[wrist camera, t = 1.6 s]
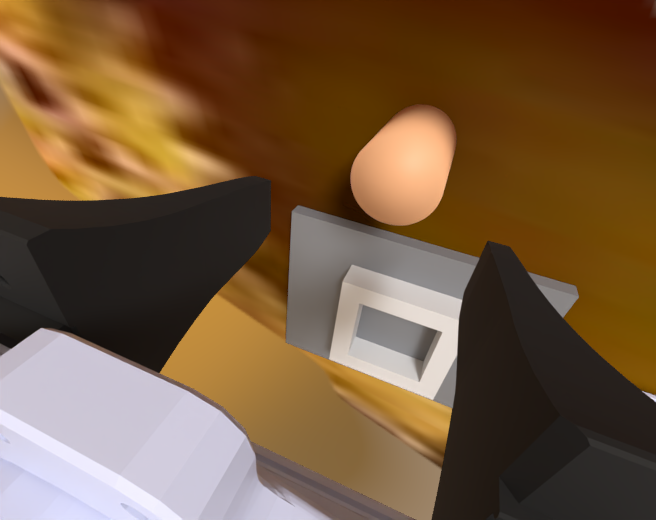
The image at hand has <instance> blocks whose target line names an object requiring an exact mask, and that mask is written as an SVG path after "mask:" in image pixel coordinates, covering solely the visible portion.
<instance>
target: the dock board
mask: <svg viewBox="0 0 656 520" xmlns="http://www.w3.org/2000/svg"><path fill="white" fill-rule="evenodd" d="M479 259H480V258H478V257H474V256H471V255H467V254H464V253H460V252H457V251H453V250H450V249H447V248H443V247H440V246H436V245H433V244H429V243H426V242H423V241H419V240H416V239H412V238H409V237H405V236H402V235H398V234H395V233H392V232H388V231H385V230H381V229H378V228H374V227H371V226H368V225H364V224H361V223H357V222H354V221H350V220H347V219H343V218H340V217H337V216H333V215H330V214H326V213H323V212H319V211H316V210H313V209H309V208H306V207H302V206H299V205H298V206H297V207H296V208H295V209H294V210H293V211H292V220H291V241H290V262H289V283H288V305H287V326H286V343H288V344H291V345H293V346H296V347H298V348H301V349H303V350H306V351H308V352H311V353H313V354H316V355H319V356H321V357H324V358H326V359H329V360H331V361H334V362H336V363H339V364H341V365H344V366H347V367H349V368H352V369H354V370H357V371H359V372H362V373H364V374H367V375H369V376H372V377H375V378H377V379H380V380H382V381H385V382H387V383H390V384H392V385H395V386H397V387H400V388H403V389H405V390H408V391H410V392H413V393H415V394H418V395H420V396H423V397H425V398H428V399H431V400H433V401H436V402H438V403H441V404H443V405H446V406H448V407H451V408H453V402H454V396H455V387H456V371H457V346H458V324H459V315H460V309H461V304H462V299H463V294H464V291H465V288H466V286H467V284H468V282H469V280H470V278H471V276H472V273H473V271H474V269H475V267H476V265H477V263H478V261H479ZM528 274H529V275H530V277H531V278H532V280H533V281H534V282H535V284H536V285H537V286H538V288H539V289H540V290H541V292H542V293H543V294H544V296H545V297H546V298H547V300H548V301H549V302H550V303H551V304H552V306H553V307H554V308H555V309H556V310H557V312H558V313H559V314H560V315H561V316H562V318H563V317H564V316H565V314H566V313H567V312H568V310H569V309H570V308H571V306H572V305H573V304H574V302H575V301H576V300H577V298H578V297H579V295H578V292H577V289H576V286H574V285H570V284H567V283H563V282H560V281H557V280H553V279H550V278H546V277H543V276H539V275H536V274H532V273H529V272H528Z"/></svg>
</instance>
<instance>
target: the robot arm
mask: <svg viewBox="0 0 656 520" xmlns="http://www.w3.org/2000/svg"><path fill="white" fill-rule="evenodd" d="M270 231H271V180H267V179H264V178H260V177H256V176H251V177H244V178H239V179H234V180H229V181H225V182H221V183H216V184H212V185H208V186H204V187H199V188H194V189H189V190H184V191H179V192H174V193H169V194H163V195H157V196H149V197H140V198H131V199H114V200H97V201H59V200H57V201H56V200H36V199H21V198H7V197H0V520H415V519H413V518H411V517H409V516H407V515H404V514H402V513H400V512H398V511H396V510H394V509H392V508H390V507H388V506H386V505H383V504H382V503H379V502H377V501H375V500H373V499H371V498H369V497H367V496H365V495H363V494H360V493H358V492H356V491H354V490H352V489H350V488H348V487H345V486H344V485H342V484H339V483H337V482H335V481H333V480H331V479H329V478H327V477H325V476H323V475H321V474H318V473H316V472H314V471H312V470H310V469H308V468H306V467H304V466H301V465H299V464H297V463H295V462H293V461H291V460H289V459H287V458H285V457H283V456H281V455H278V454H276V453H274V452H272V451H270V450H268V449H266V448H264V447H262V446H259V445H257V444H255V443H253V442H251V441H250V439H249V437H248V435H247V432H246V430H245V428H244V427H243V426H241V424H240V423H239V422H238V421H236V420H235V418H234V417H233V416H231V415H230V414H229V413H228V412H227V411H226V410H225V409H224V408H223V407H222V406H221V405H219V404H217V403H216V402H214V401H212V400H211V399H209V398H207V397H206V396H204V395H202V394H201V393H199V392H198V391H196V390H194V389H192V388H190V387H188V386H186V385H184V384H181V383H179V382H177V381H175V380H173V379H170V378H168V377H166V376H164V375H161V374H159V373H160V371H161V370H162V368H163V367H164V365H165V363H166V362H167V360H168V359H169V357H170V356H171V354H172V353H173V351H174V350H175V348H176V347H177V345H178V343H179V342H180V341H181V339H182V338H183V337H184V335H185V334H186V332H187V331H188V329H189V328H190V327H191V325H192V324H193V322H194V321H195V320H196V318H197V317H198V316H199V314H200V313H201V312H202V310H203V309H204V308H205V307H206V305H207V304H208V303H209V301H210V300H211V299H212V298H213V297H214V295H215V294H216V293H217V292H218V291H219V290H220V289H221V288H222V287H223V286H224V285H225V284H226V283H227V282H228V281H229V280H230V279H231V277H232V276H233V275H234V274H235V273H236V272H237V271H238V270H239V269H240V268H241V267H242V266H243V265H244V264H245V263H246V262H247V261H248V260H249V259H250V258H251V257H252V256H253V254H254V253H255V252H256V251H257V250H258V248H259V247H260V246H261V244H262V243H263V241H264V240H265V238H266V237H267V235H268V234H269V232H270ZM432 520H656V396H655V395H652V394H649V393H646V392H643V391H641V390H640V389H639V388H637V387H636V386H635V385H634V384H632V383H631V382H630V381H629V380H627V379H626V378H625V377H624V376H623V375H622V374H620V373H619V372H618V371H617V370H616V369H615V368H614V367H612V366H611V365H610V364H609V363H608V362H607V361H605V360H604V359H603V358H602V357H601V356H600V355H599V354H598V353H597V352H596V351H595V350H593V349H592V348H591V347H590V346H589V345H588V344H587V343H586V342H585V341H584V340H583V339H582V338H581V337H580V336H579V335H578V334H577V333H576V332H575V331H574V330H573V329H572V328H571V326H570V325H569V324H568V323H567V322H566V321H565V320H564V319H563V318H562V316H561V315H560V314H559V313H558V312H557V310H556V309H555V308H554V307H553V306H552V304H551V303H550V302H549V301H548V300H547V298H546V297H545V296H544V294H543V293H542V292H541V290H540V289H539V288H538V286H537V285H536V284H535V282H534V281H533V280H532V278H531V277H530V275H529V274H528V272H527V271H526V269H525V268H524V266H523V265H522V264H521V262H520V261H519V259H518V258H517V256H516V255H515V253H514V252H513V250H512V249H511V248H510V247H509V246H505V245H501V244H498V243H494V242H491V241H488V242H487V244H486V246H485V248H484V250H483V252H482V254H481V256H480V259H479V261H478V263H477V265H476V267H475V269H474V271H473V273H472V276H471V278H470V280H469V282H468V284H467V286H466V288H465V291H464V294H463V299H462V304H461V309H460V315H459V324H458V346H457V371H456V387H455V396H454V402H453V409H452V415H451V421H450V427H449V433H448V438H447V444H446V450H445V455H444V461H443V466H442V471H441V476H440V482H439V487H438V492H437V496H436V501H435V506H434V511H433V515H432Z"/></svg>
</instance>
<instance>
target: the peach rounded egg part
mask: <svg viewBox="0 0 656 520" xmlns="http://www.w3.org/2000/svg"><path fill="white" fill-rule="evenodd" d="M456 142H457V136H456V131H455V127H454V125H453V123H452V121H451V120H450V118H449V117H448V116H447V115H446V114H445V113H444V112H443V111H441V110H440V109H438V108H436V107H434V106H430V105H424V104H418V105H412V106H409V107H407V108H404V109H402V110H401V111H399V112H398V113H397V114H396V115H395V116H394V117H393V118H392V119H391V120H390V121H389V122H388V123H387V124H386V125H385V126H384V127H383V128H382V129H381V130H380V131H379V132H378V133H377V134H376V135H375V137H374V138H373V139H372V140H371V141H370V142H369V143H368V144H367V145H366V146H365V147H364V148H363V149H362V150H361V151H360V153H359V154H358V155H357V157H356V159H355V161H354V163H353V166H352V170H351V188H352V192H353V195H354V197H355V199H356V201H357V202H358V204H359V205H360V207H361V208H362V209H363V210H364V211H365V212H366V213H367V214H368V215H369V216H371V217H372V218H374V219H376V220H378V221H380V222H383V223H385V224H390V225H409V224H413V223H416V222H418V221H421V220H422V219H424V218H426V217H427V216H428V215H430V214H431V213H432V212H433V211H434V210H435V208H436V207H437V206H438V204H439V202H440V200H441V198H442V196H443V192H444V189H445V185H446V181H447V178H448V174H449V170H450V167H451V163H452V159H453V156H454V152H455V148H456Z"/></svg>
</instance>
